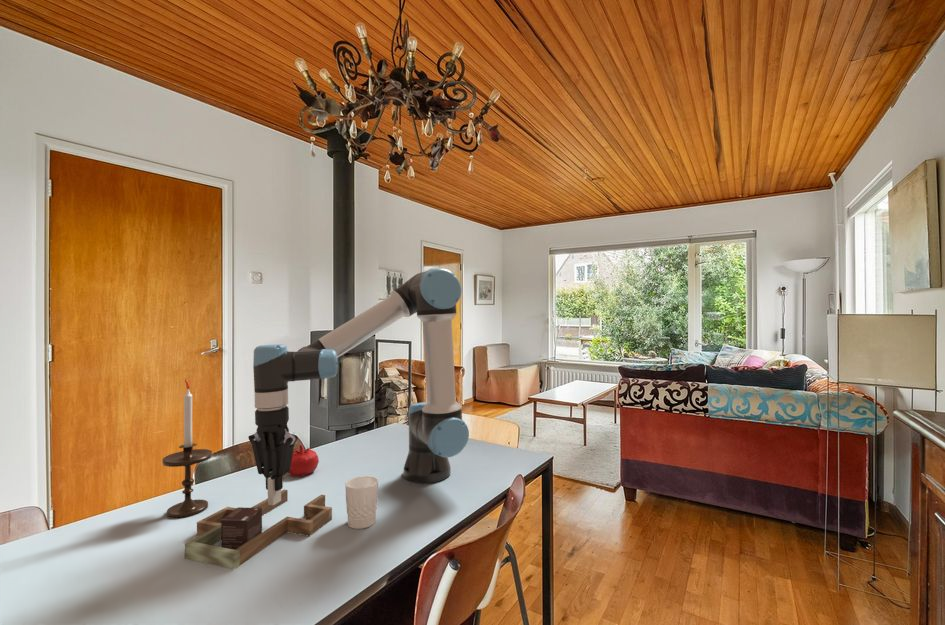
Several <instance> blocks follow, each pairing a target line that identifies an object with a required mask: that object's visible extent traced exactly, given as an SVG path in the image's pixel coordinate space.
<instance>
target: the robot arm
mask: <svg viewBox="0 0 945 625" xmlns="http://www.w3.org/2000/svg"><path fill="white" fill-rule="evenodd" d="M458 278H459V277H457V275H455V274H454V272H452V271H450V270H449V269H447V268H443V267H442V268H441V267H439V268H430V269H428V270H426V271H422V272H418V273H416V274H415V275H413V276H411V277H410V278H409V279H408V280H406V281H405V282H404V283H402V284H401V285H400V286H398V287H396V288H395V289H393V290H391V293H390V296H388V297H386V298H385V299H383V300H382V301H379V302H378V303H376V304H374V305H373V306H372V307H370V308H368V309H366V310H365V311H362V312H361V313H360V314H358V315H357V316H355V317H353V318H351V319H350V320H348V321H346V322H345V323H343V324H341V325H339V326H338V327H337V328H335V329H333V330H332V331H330V332H328V333H326V334H325V335H323V336H322V337H320V338H318V339H317V340H315V341H314V342H313V341H312V343H310V344H308V345H306V346H302V347H301V348H299V349H298V350H297V351H290V350H289V351H288V347H287V345H286V344H283V343H280V344H264V345H263V344H262V345H258V346H255V348H254V350H253V365H252V368H253V369H252V370H253V389H254V391H253V392H254V408H255V409H256V410H255V411H254V424H255V425H256V426H257V427H256V432H254V433H252V434H251V435H249V436H248V437H247V438H248V441H249V442H250V444H251V447H252V451H253V456H254V460H255V465H256V469H257V473H258V475H263V476H264V479H265V489H266V490H267V499H268V505H275V504H277V503H278V502H280V501H281V491H282V490H283V488H284V487H283V486H284V483H283V481H284V480H283V479H284V478H283V477H284V476H285V475H286V474H289V472H290V467H291V461H292V455H293V452H294V451H293V450H294V449H295V448H294V447H295V444H296V443H297V441H298V436H297V435H296V434H294V435H292V434H291V433H290V429H289V426H288V422H289V420H290V417H289V416H290V415H289V414H290V410H289V409H290V408H289V407H288V406H287V405H288V404H289V385H288V384H289V382H290V383H291V382H296V381H311V380H326V379H330V378H334V377H336V376H337V374H338V370H339V366H338V365H339V362H338V361H339V360H338V358H339V357H341V356H343V355H344V354H346V353H347V352H349V351H351V350H352V349H354V348H356V347H357V346H359V345H360V344H362V343H363V342H365V341H367V340H368V339H370V338H372V337H373V336H374V335H376V334H378V333H379V332H381V331H382V330H385V328H387V327H389V326H391V325H393V323H395V322H397V321H399V320H400V319H402V318H403V317H404V318H409V317H412V315H414V314H416V317H417V318H418V319H419V320H420V321H421V322H422V334H423V335H422V338H423V339H422V340H423V352H424V353H423V355H424V357H423V358H424V371H425V372H424V373H425V375H424V376H425V392H426V395H425V396H426V401H423V402H416V403H411V404H410V405H409V407H408V414H407V416H408V454H407V456H406V460H405V463H404V465H403V477H404V479H406V480H407V481H411V482H413V483H423V484H425V483H437V482H440V481H443V480H446V479H447V478H449V477H450V476H451V472H452V471H451V463H450V461H449V458H452V457H455V456H457V455H459V454H460V453H461V452H462V451H463V449H464V448H465V447H466V445H467V444H468V442H469V437H470V430H469V427H468V424H466V422H465V421H464V420H463V411H462V405H461V404H460V403H459V402H457V395H456V378H455V377H456V376H455V359H454V355H455V354H454V341H453V322H452V321H453V319H454V318H455V317H456V315H457V304H458V302H459V300H460V299H461V296H462V286H461V282H460V280H459V279H458Z"/></svg>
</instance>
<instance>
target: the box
mask: <svg viewBox="0 0 945 625" xmlns="http://www.w3.org/2000/svg"><path fill="white" fill-rule="evenodd" d="M235 508H236V509H235V510H234V511H232V512H231V513H230V514H228V515H227V516H225V517H224V518H223V519H221V540H220V547H223V548H228V549H233V550H236V549H237V548H239V547H240V546H242V545H243V544H245V543H246V542H248V541H250V540H251V539H253V538H254V537H256V536H257V535H259V534H261V533H262V532H263V516H262V508H251V507H242V506H240V507H235Z"/></svg>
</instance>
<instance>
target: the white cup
mask: <svg viewBox="0 0 945 625" xmlns="http://www.w3.org/2000/svg"><path fill="white" fill-rule="evenodd" d="M344 485H345V486H344V488H345V503H346V504H345V506H346V514H347V526H349V527H350V528H352V529H355V530H357V529H358V530H359V529H360V530H362V529H367V528H369V527H372V526H373V525H374V524H375V523H376V521H377V509H378V494H379V492H378V491H379V479H378V478H377V477H375V476H372V475H362V476H361V475H360V476H355V477H352V478H350V479H348V480H346V481H345V483H344Z"/></svg>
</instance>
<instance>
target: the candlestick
mask: <svg viewBox="0 0 945 625" xmlns="http://www.w3.org/2000/svg"><path fill="white" fill-rule="evenodd" d="M184 382H185V385H186V386H185V387H186V391H185V394H183V444H182V445H179V446H178V448H179V449H183V450H182V451H177V452H174V453H171V454H168V455H166V456H165V457H163V458H162V465H163V466H165V467H170V468H171V467H173V468H175V467H184V479H183V480H182V481H181V485H182V486H183V488H184V490H182V492H181V493H182V494H183V495H184V500H183V501H181V502H179V503H175V504H174V505H172V506H170V507H169V508H168V509H167V510H166V517H167V518H169V519H184V518H185V519H186V518H190V517H192V516H196V515H199V514H201V513H203V512H204V511H206V510H207V509H208V508H209V502H208V501H207V500H205V499H192V493H193V492H194V488H192V485H194V483H195V479H194V478H192V466H193V465H196V464H200V463H203V462H205V461H208V460H210V459H211V458H212V457H213V451H212V450H211V449H205V448H203V449H202V448H200V449H199V448H198V449H196V448H195V449H194V448H193V447H196V446H197V445H198V443H193V394H192V393H191V391H190V387H191V386H190V382H189V381H188V379H187V378H185V380H184Z"/></svg>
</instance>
